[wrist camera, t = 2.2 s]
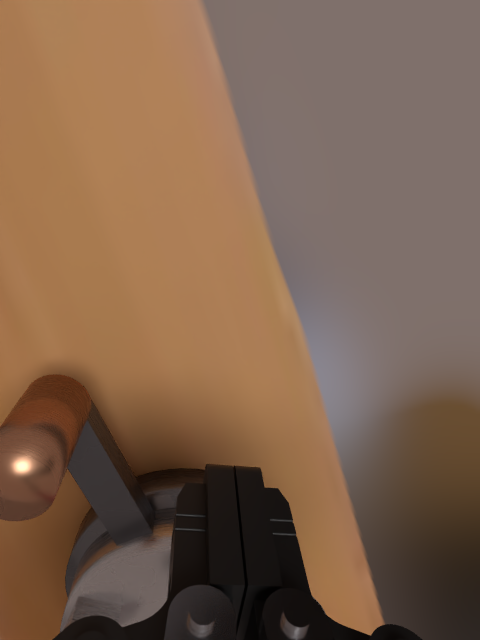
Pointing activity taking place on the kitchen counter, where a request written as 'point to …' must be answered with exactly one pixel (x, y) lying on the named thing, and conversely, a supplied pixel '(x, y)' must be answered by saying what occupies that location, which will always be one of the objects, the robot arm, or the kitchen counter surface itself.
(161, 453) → the kitchen counter surface
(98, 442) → the crank handle
